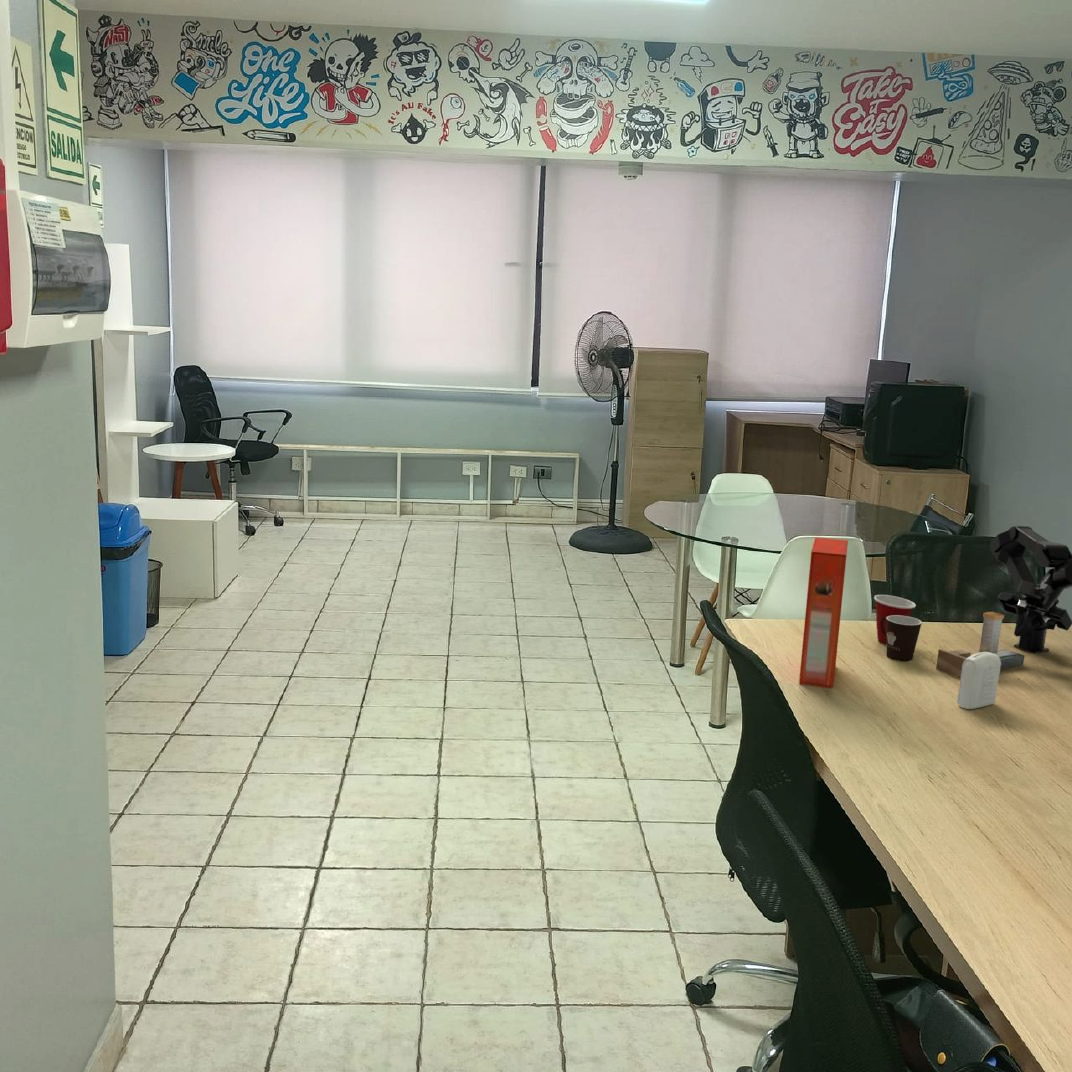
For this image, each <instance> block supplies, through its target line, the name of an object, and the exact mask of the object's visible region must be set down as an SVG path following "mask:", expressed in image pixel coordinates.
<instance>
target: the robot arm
mask: <svg viewBox="0 0 1072 1072" xmlns="http://www.w3.org/2000/svg"><path fill="white" fill-rule="evenodd" d="M989 547H990V548H989V549H990V552H991V554H992V555H993V557H994V558H995V559H996V561H998V562H1000V563H1001V564H1003V565H1005V567H1006V568H1007V570H1008V572H1009V574H1010V577H1011V578H1012V580H1013V582H1014V583H1013V584H1015V586H1016V590H1017V591H1016V592H1017V593H1019V595H1020V597H1021V599H1022V600H1020V599H1019V598H1018V596H1017V595H1016V594H1015V593H1010V592H1006V591H1002V592H1000V593H999V595H998V596H997V597H996V600H997V601H998V603H999V605H1000V606H1001V608H1002V610H1003V611H1005V612H1006V613H1008V614H1012V615H1015V616H1014V617H1015V618H1014V622H1015V623H1014V624H1015V628H1014V633H1013V635H1014V636H1015V637H1016V638H1018V637H1019V642H1018V643H1016V644H1013V647H1014V648H1017V649H1020V650H1023V651H1025V652H1026V651H1027V652H1029V653H1032V654H1039V653H1044V652H1048V651H1050V648H1047V647H1045V643H1046V638H1047V637H1046V636H1047V630H1051V631H1053V630H1055V628H1058V629H1061V630H1063V631H1068V630H1069V629H1070V628H1071V626H1072V619H1071V616H1070V615H1069V612H1068V610H1067V609H1065V608H1062V607H1058V606H1057V605H1058V604H1059V602H1060V600H1059V597H1060V596H1061V595H1062V593H1063V592H1064V590H1067V589H1071V588H1072V552H1071V550H1070V549H1069V547H1068V546H1067V545H1066V544H1062V543H1060V542H1053V541H1049V540H1048V539H1046V538H1045V537H1043V536H1042V535H1041V534H1039V533H1038V532H1036V531H1035V530H1033V528H1032V527H1031V526H1030V527H1029V526H1028V525H1014V526H1011V527H1010V528H1009V529H1007V530H1005V531H1003V532H1001V533H999V534H997V535H996V536H995V537H994V538H992V540H991V541H990V546H989ZM1027 550H1028V551H1030V552H1032V553H1033V554H1034V558H1033V559H1034V560H1035V562H1036V563H1037V564H1038V565H1039V566H1041V567H1044V568H1050V569H1048V570H1047V572H1046V573H1045V574H1044V576H1043V577H1042V579H1040V581H1039V583H1037V581H1036V579H1035V577H1034V576H1033V574H1032V572H1031V570H1030V568H1029V566H1028V564H1027V562H1026V560H1025V558H1024V557H1025V554H1026V551H1027Z"/></svg>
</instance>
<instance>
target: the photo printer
mask: <svg viewBox="0 0 1072 1072" xmlns="http://www.w3.org/2000/svg"><path fill="white" fill-rule="evenodd" d="M1000 666H1001V661H1000V658H999V656H998V655H996V654H993V653H990V652H980V653H979V652H977V653H975V654H971V656H970V657H968V658H967V659H966V660H965V661H964V662H963V665H962V672H961V678H960V680H959V685H958V686H959V688H958V693H957V701H956V702H957V705H958V706H959V707H960V708H962V709H965V710H970V709H971V710H975V709H978V708H982V707H987V706H991V705H994V704H995V702H996V698H997V694H998V693H997V692H998V686H999V679H1000V673H1001V672H1000V671H1001V670H1000Z"/></svg>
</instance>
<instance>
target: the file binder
mask: <svg viewBox="0 0 1072 1072" xmlns="http://www.w3.org/2000/svg"><path fill="white" fill-rule="evenodd" d="M848 544H849V541H848V540H847V539H837V538H829V537H828V538H827V537H815V538H814V541H813V545H812V549H811V550H810V562H809V572H808V583H807V584H808V585H807V594H806V606H805V607H806V608H805V616H804V627H803V638H802V647H801V648H802V649H801V657H800V658H801V660H800V671H799V680H798V681H799V682H798V683H799V685H807V686H814V687H822V688H829V689H831V688H833V687H834V683H835V673H836V663H837V657H838V656H837V654H838V645H839V633H840V625H841V624H840V623H841V614H842V604H843V597H844V596H843V595H844V594H843V592H844V585H845V577H846V565H847V554H848V553H847V552H848Z"/></svg>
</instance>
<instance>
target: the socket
mask: <svg viewBox="0 0 1072 1072" xmlns="http://www.w3.org/2000/svg"><path fill="white" fill-rule="evenodd" d="M970 656H972V652H970V651H968V650H966V649H961V648H960V649H957V650H956V649H955V650H950V651H949V650H946V649H943V648H939V649H938V651H937V658H936V665H935V669H936V670H939V671H942V672H943V673H947V674H949V675H952V676H954V677H957V678H960V679H961V672H962V665H963V662H964V661H965V660H966V659H967V658H968V657H970Z"/></svg>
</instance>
